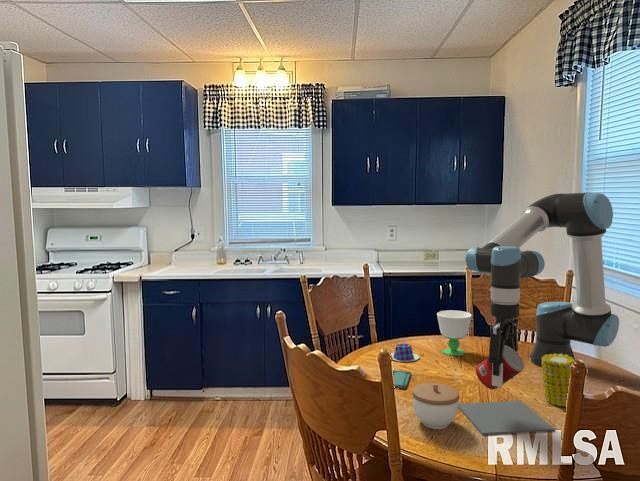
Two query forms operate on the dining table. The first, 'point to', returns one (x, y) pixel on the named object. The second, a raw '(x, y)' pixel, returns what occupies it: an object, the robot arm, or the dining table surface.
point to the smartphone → (401, 379)
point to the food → (556, 377)
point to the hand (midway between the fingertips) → (503, 381)
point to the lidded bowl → (435, 404)
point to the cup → (454, 329)
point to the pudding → (404, 353)
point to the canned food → (510, 367)
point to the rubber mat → (504, 418)
